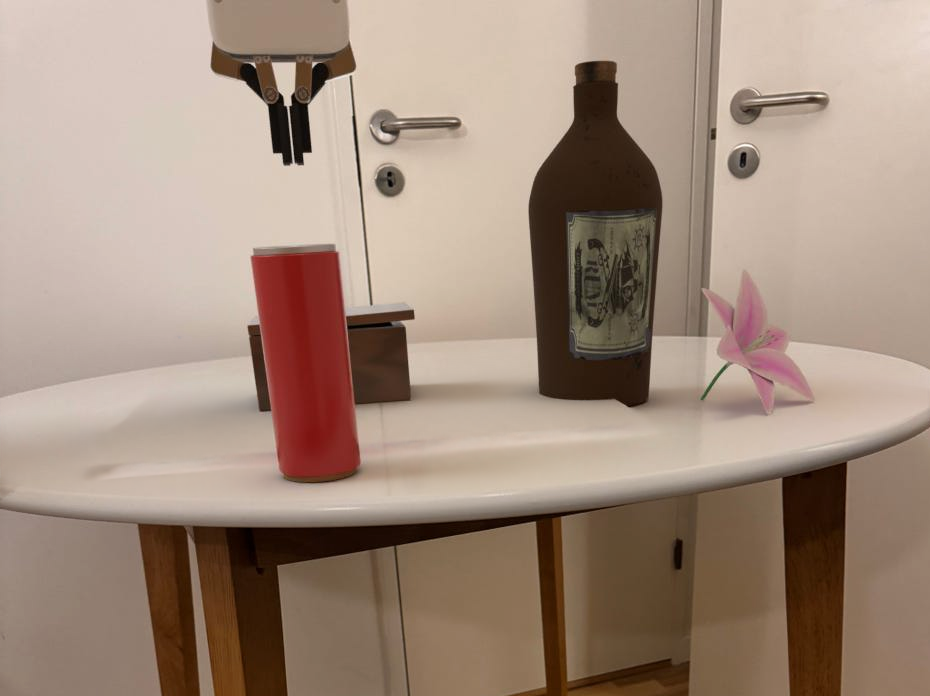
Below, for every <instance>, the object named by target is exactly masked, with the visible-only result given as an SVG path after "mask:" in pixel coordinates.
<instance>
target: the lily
mask: <svg viewBox="0 0 930 696" xmlns="http://www.w3.org/2000/svg"><path fill="white" fill-rule="evenodd" d="M701 291H702V293H703V295H704V296H705V298H706V299H707V301H708V302H709V304H710V305H711V306H712V308H713V310H714V311H715V313H716V314H717V316H718V317H719V319H720V321H721V323H722V324H723V325H724V327H725V330H724V333H723V334H722V336H721V338H720V340H719V342H718V344H717V347H716V355H717V356H718V358H720V359H722V360H724V361H725V362H726V363H725V364H724V365H723V367H721V369H719V371H718V372H717V373H716V375H715V376H713V378H712V380H711V382H710V383H709V385H708V386H707V388H706V389H705V390H704V392H703V394H702V396H701V397H700V400H701V401H705V399H706V397H707V396H708V395H709V392H710V391H711V390H712V388H713V387H714V385H715V384H716V382H717V381H718V379H719V378H720V376H722V374H723V373H724V372H725V371H726V370H727V369H728V368H729V367H730V366H731V365H733V364H735V365H738V366H740V367H743V368H744V369H746V370H747V371H748V374H749V375H750V378H751V379H752V381H753V383H754V386H755V388H756V391H757V393H758V395H759V397H760V400H761V403H762V405H763V408H764V410H765V412H766V414H767V416H769V415H771V413H772V410H773V407H774V403H775V396H776V387H775V383H776V384H779V385H781V386H784V387H786V388H788V389H790V390H791V391H794V392H795V393H797V394H798V395H800V396H801V397H803V398H805V399H806V400H808V401H810V402H812V403H815V402H816V400H815V396H814V393H813V391H812V388H811V387H810V385H809V383H808V380H807V379H806V378H805V376H804V373H803V372H802V371H801V369H800V367H799V366H798V365H797V364H796V363H795V361H794V359H792V358H791V357H790V356H789V355H787V353H786V351H787V349H788V347H789V344H790V335H789V333H788V332H787V331H786V330H785V329H783V328H781V327H779V326H777V325H774V324H772V323H769V318H768V311H767V308H766V304H765V300H764V299H763V297H762V295H761V292H760V290H759V288H758V286H757V284H756V282H755V281H754V279H753V278H752V276H751V274H750V273H749V272H748V271H747V270H746V269H742V272H741V276H740V284H739V288H738V293H737V297H736V301H735V305H734V306H733V304H732V303H731V302H729V301H728V300H727V299H725V298H724V297H722V296H721V295H719V294H718V293H716V292H714V291H712V290H711V289H708V288H705V287H701Z"/></svg>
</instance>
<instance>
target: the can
mask: <svg viewBox="0 0 930 696" xmlns="http://www.w3.org/2000/svg"><path fill="white" fill-rule="evenodd" d="M252 253H253V254H251V255H250V258H249V259H250V263H251V265H250V266H251V269H252V270H251V271H252V278H253V279H252V280H253V287H254V293H255V294H254V295H255V300H256V307H257V316H259V324H260V331H261V338H262V346H263V353H264V361H265V368H266V375H267V383H268V390H269V397H270V405H271V411H270V412H271V419H272V426H273V433H274V440H275V446H276V447H275V448H276V455H277V462H278V471H279V472H280V473H281V474H282V475H283V474H286V475H290V476H297V477H318V476H328V475H335V474H340V473H344V472H348V471H351V470H353V469H355V468H357V469H358V467H360V465H361V463H362V462H361V453H360V443H359V442H360V441H359V433H358V432H359V431H358V423H357V414H356V413H357V411H356V405H355V401H354V391H353V381H352V371H351V361H350V350H349V340H348V330H347V320H346V310H345V308H346V302H345V301H346V300H345V292H344V282H343V281H344V280H343V271H342V262H341V261H342V260H341V252H340V250H337V245H336V243H311V244H310V243H308V244H287V245H273V246H272V245H271V246H259V247H252Z"/></svg>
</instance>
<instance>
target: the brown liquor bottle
mask: <svg viewBox="0 0 930 696" xmlns="http://www.w3.org/2000/svg"><path fill="white" fill-rule="evenodd" d="M617 71H618V63H617V62H616V61H614V60H590V61H583V62H579V63H577V64H575V65H574V76H575V85H573V86H572V89H573V91H572V92H573V94H572V95H573V119H572V123H571V124H570V126H569V128H568V129H567V131H566V132H565V134H564V135H563V136H562V137H561V139H560V140H559V142H558V143H557V144H556V146H554V148H553V150H551V152H549V155H548V156H547V157H546V158H545V159H544V161H543V162H542V164H541V166H540V167H539V168H538V170H537V172H536V174H535V176H534V179H533V182H532V186H531V190H530V193H529V200H528V209H527V210H528V227H529V240H530V241H529V242H530V255H531V269H532V270H531V271H532V285H533V299H534V315H535V316H534V317H535V332H536V333H535V334H536V350H537V351H536V352H537V353H536V354H537V372H538V373H537V375H538V376H537V377H538V392H539V393H538V394H539V395H541V396H543V397H545V398H549V399H550V398H551V399H556V400H565V401H606V400H615V401H617V402H618V403H620V404H622V405H625V407H631V406H636V405H639V404H642V403H645V402H646V401H647V400H648V399H649V397H650V385H651V384H650V382H651V366H652V348H653V331H654V318H655V307H656V305H655V304H656V293H657V280H658V277H657V276H658V265H659V255H660V254H659V253H660V244H661V243H660V242H661V241H660V240H661V230H662V219H663V204H664V203H663V201H664V200H663V192H662V187H661V183H660V179H659V175H658V171H657V169H656V167H655V165H654V164H653V162H652V161H651V159H650V158H649V157H648V155H647V154H646V152H644V150H643V149H642V148H641V147H640V146H639V144H638V143H637V141H635V139H633V137H632V136H631V135H630V134H629V132H628V131H627V130H626V129H625V128H624V126H623V125H622V124H621V122H620V120H619V118H618V104H619V103H618V101H619V100H618V98H619V83H618V82H616V78H617V76H616V75H617V73H618V72H617Z"/></svg>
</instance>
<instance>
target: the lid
mask: <svg viewBox="0 0 930 696" xmlns="http://www.w3.org/2000/svg"><path fill="white" fill-rule="evenodd" d="M345 310H346V320H347V326H354V325H364V324H374V323H385V322H395V321H401V322H403V321H405V322H406V321H414V320H415V319H416V317H415V316H416V315H415V309H414V308H412V306H410V305H409V304H408V303H407V302H406V301H404V302H403V301H401V302H392V303H382V304H371V305H360V306H350V307H345ZM246 328H247V334H248V337H249V336H252V335H261V331H260V324H259V316H258V315H257V316H253V317H252V318H251V320H250V321H249V323H248V324H247V326H246Z"/></svg>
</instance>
